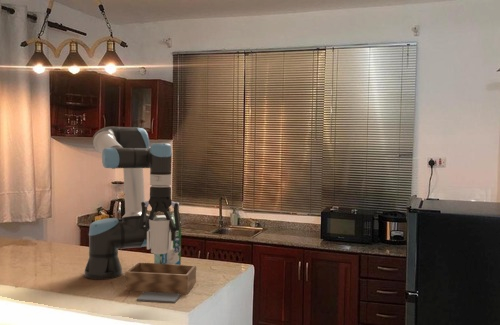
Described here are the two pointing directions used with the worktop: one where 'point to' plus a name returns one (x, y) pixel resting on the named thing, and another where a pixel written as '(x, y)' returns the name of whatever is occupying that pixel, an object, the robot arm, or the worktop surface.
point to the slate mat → (159, 297)
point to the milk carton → (173, 254)
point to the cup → (159, 235)
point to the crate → (161, 278)
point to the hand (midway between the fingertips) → (159, 248)
